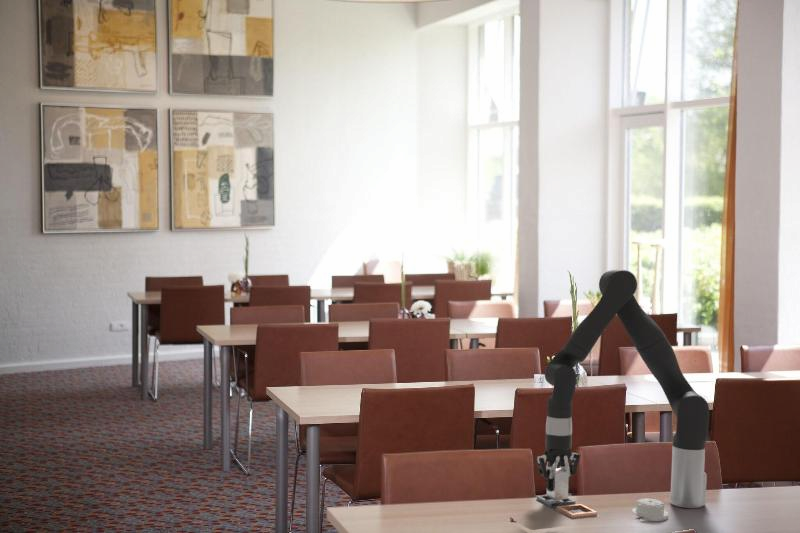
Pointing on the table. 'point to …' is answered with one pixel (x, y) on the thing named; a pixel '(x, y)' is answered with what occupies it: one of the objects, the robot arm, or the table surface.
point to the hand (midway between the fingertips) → (557, 489)
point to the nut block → (559, 485)
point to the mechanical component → (650, 510)
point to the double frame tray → (568, 507)
